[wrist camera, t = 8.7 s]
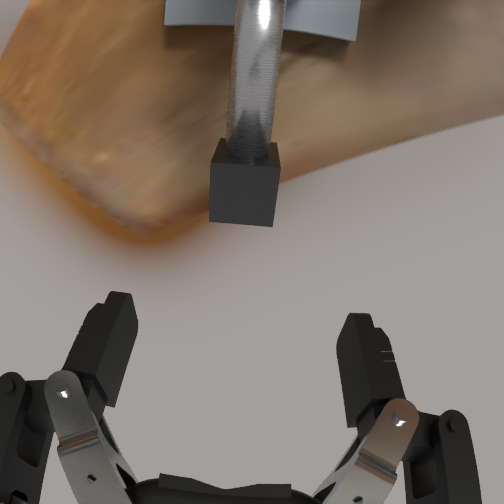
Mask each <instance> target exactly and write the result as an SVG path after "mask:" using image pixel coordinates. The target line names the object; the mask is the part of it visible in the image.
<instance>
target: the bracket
mask: <svg viewBox="0 0 504 504" xmlns="http://www.w3.org/2000/svg"><path fill="white" fill-rule="evenodd" d="M360 4H361V0H286V9H285V18H284V28H283V30H287V31H294V32H301V33H308V34H314V35H320V36H325V37H330V38H336V39H340V40H345V41H350V42H351V41H356V36H357V28H358V21H359V12H360ZM236 6H237V0H166V7H165V21H164V25H167V26H185V25H221V26H235V16H236Z"/></svg>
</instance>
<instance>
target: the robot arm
mask: <svg viewBox="0 0 504 504" xmlns="http://www.w3.org/2000/svg"><path fill="white" fill-rule="evenodd" d="M137 332H138V319H137V315H136V311H135V307H134V303H133V298H132V295H131V294H130V293H124V292H116V291H111V292H110V293H109V294H108V297H107V299H106V301H105V303H104V304H101V303H97V304H96V305H95V306H94V307H93V308H92V309H91V310H90V311H89V312H88V314H87V316H86V318H85V320H84V322H83V325H82V326H81V328H80V331H79V334H78V335H77V337H76V339H75V341H74V343H73V346H72V348H71V350H70V352H69V355H68V357H67V359H66V362H65V364H64V366H63V368H62V369H61V370H60V371H57V372H55V373H53V374H52V375H50V376H49V378H48V379H46V380H32V381H25V380H24V379H23V378H22V377H21V375H19V374H18V373H15V372H8V373H5V374H3V375H2V376H1V377H0V504H39V500H40V495H41V489H42V483H43V478H44V473H45V468H46V463H47V459H48V454H49V450H50V446H51V442H52V437H53V434H54V432H56V434H57V437H58V440H59V446H58V447H57V452H58V456H59V459H60V461H61V464H62V467H63V469H64V472H65V474H66V477H67V479H68V481H69V484H70V486H71V488H72V490H73V493H74V495H75V497H76V499H77V502H78V504H383V503H384V501H385V499H386V498H387V496H388V494H389V493H390V491H391V489H392V487H393V486H394V484H395V481H396V479H397V474H396V473H395V472H396V469H397V466H398V465H399V462H400V461H403V467H404V479H405V491H406V504H482V500H481V491H480V484H479V477H478V471H477V465H476V459H475V454H474V449H473V444H472V439H471V434H470V430H469V425H468V422H467V420H466V418H465V416H464V415H463V414H461V413H460V412H459V411H456V410H448V411H445V412H444V413H443V414H442V415H440V416H437V415H432V414H428V413H423V412H419V411H417V409H416V407H415V406H414V405H413V404H412V403H411V402H410V401H408V400H406V398H405V395H404V391H403V387H402V383H401V379H400V376H399V372H398V369H397V365H396V362H395V358H394V354H393V353H392V348H391V344H390V341H389V338H388V337H387V335H386V334H385V333H384V331H383V330H382V329H381V328H374V325H373V321H372V318H371V316H370V314H367V313H349V315H348V316H347V319H346V321H345V324H344V326H343V328H342V330H341V332H340V335H339V337H338V340H337V346H336V349H337V359H338V365H339V371H340V378H341V384H342V391H343V398H344V405H345V413H346V420H347V427H348V428H350V427H357V431H358V435H357V436H356V437H355V439H354V440H353V442H352V443H351V445H350V446H349V448H348V450H347V451H346V452H345V454H344V456H343V457H342V458H341V460H340V461H339V463H338V464H337V466H336V467H335V468H334V470H333V471H332V472H331V474H330V475H329V476H328V477H327V478H326V479H325V480H324V481H323V482H322V484H321V485H320V486H319V487H318V489H317V490H316V491H315V492H314V494H313V495H312V496H309V495H307V494H305V493H302V492H299V491H297V490H292V489H291V484H256V485H250V486H245V487H239V488H233V489H221V488H218V487H215V486H212V485H209V484H206V483H203V482H200V481H198V480H195V479H192V478H185V477H179V476H173V475H167V474H161V473H160V476H159V478H157V479H149V480H145V481H142V482H138V480H137V479H136V477H135V475H134V473H133V472H132V470H131V469H130V467H129V465H128V463H127V462H126V461H125V459H124V458H123V456H122V454H121V452H120V450H119V448H118V446H117V444H116V443H115V440H114V438H113V436H112V434H111V431H110V429H109V427H108V425H107V423H106V420H105V418H104V416H103V412H104V408H105V405H106V406H110V407H115V404H116V401H117V397H118V394H119V390H120V387H121V384H122V380H123V377H124V374H125V371H126V367H127V364H128V361H129V358H130V355H131V352H132V349H133V346H134V342H135V339H136V336H137Z"/></svg>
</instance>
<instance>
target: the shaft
mask: <svg viewBox="0 0 504 504" xmlns="http://www.w3.org/2000/svg"><path fill="white" fill-rule="evenodd" d="M285 9H286V0H237V6H236V16H235V27H234V39H233V50H232V62H231V75H230V88H229V102H228V117H227V133H226V138H221V139H220V141H219V143H218V146H217V148H216V151H215V153H214V156H213V158H212V160H211V169H210V206H209V221H210V222H219V223H233V224H244V225H255V226H267V227H273V220H274V213H275V206H276V199H277V192H278V185H279V177H280V170H281V167H280V160H279V153H278V147H277V143H274V142H271V134H272V125H273V117H274V108H275V99H276V90H277V81H278V73H279V64H280V55H281V46H282V37H283V28H284V18H285Z"/></svg>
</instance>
